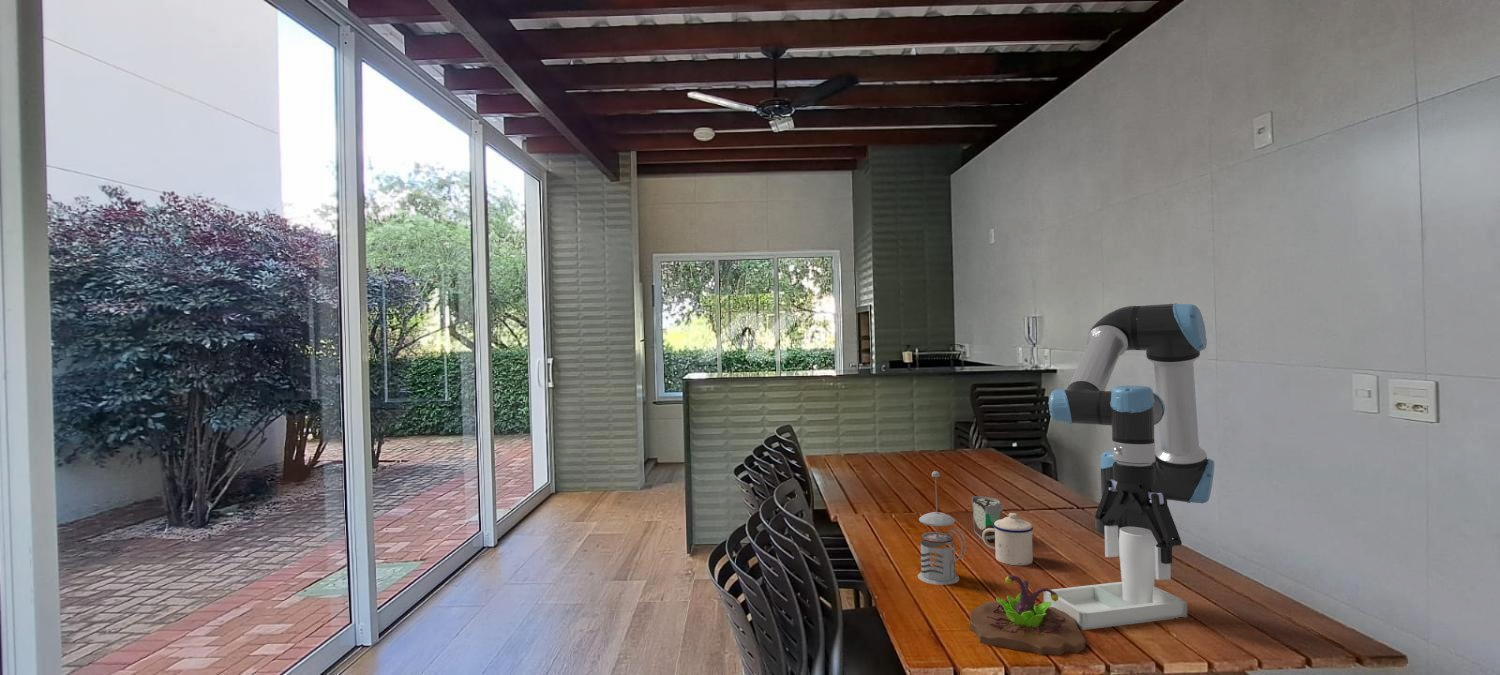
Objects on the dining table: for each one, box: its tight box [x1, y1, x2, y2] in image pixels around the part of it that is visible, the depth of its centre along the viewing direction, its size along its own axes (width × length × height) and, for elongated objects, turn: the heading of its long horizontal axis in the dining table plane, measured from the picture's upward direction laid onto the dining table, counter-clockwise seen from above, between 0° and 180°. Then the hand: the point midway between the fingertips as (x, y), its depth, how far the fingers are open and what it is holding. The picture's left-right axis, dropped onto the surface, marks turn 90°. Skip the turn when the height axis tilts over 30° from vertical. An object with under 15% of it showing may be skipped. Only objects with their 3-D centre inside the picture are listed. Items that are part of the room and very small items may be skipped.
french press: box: [917, 470, 967, 586], centre depth 155 cm, size 10×12×25 cm
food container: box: [971, 495, 1003, 543], centre depth 186 cm, size 12×6×10 cm, turn 179°
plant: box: [969, 574, 1086, 656], centre depth 127 cm, size 20×20×11 cm
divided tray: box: [1042, 581, 1188, 631], centre depth 134 cm, size 23×12×4 cm, turn 101°
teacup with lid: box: [982, 512, 1034, 567], centre depth 167 cm, size 12×9×12 cm
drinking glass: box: [1118, 527, 1158, 605], centre depth 135 cm, size 7×7×15 cm
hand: (1136, 567), depth 135 cm, fingers open, 13 cm apart
